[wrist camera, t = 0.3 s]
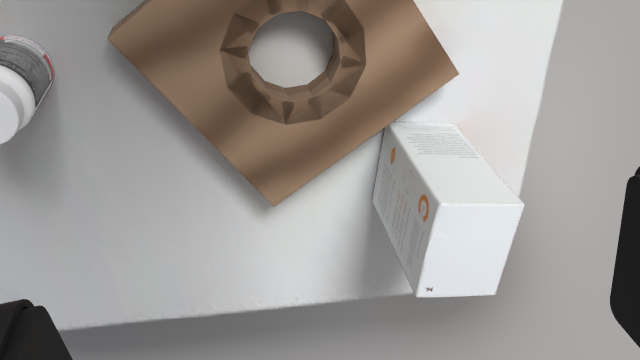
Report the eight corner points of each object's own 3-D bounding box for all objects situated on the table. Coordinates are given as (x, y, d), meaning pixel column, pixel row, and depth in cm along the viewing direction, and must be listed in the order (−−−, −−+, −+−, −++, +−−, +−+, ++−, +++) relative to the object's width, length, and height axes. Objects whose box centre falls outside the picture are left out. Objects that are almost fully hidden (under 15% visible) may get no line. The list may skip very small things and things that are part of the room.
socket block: (112, 27, 42) (107, 38, 39) (316, -145, 38) (323, -143, 36) (271, 190, 51) (274, 206, 48) (447, 62, 47) (459, 73, 45)
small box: (437, 202, 54) (496, 297, 43) (370, 201, 53) (413, 300, 42) (457, 121, 50) (527, 204, 39) (385, 118, 49) (437, 204, 38)
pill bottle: (-9, 22, 40) (-55, 64, 33) (63, 50, 42) (33, 96, 35) (-25, 83, 42) (-72, 135, 35) (45, 107, 44) (13, 161, 37)
